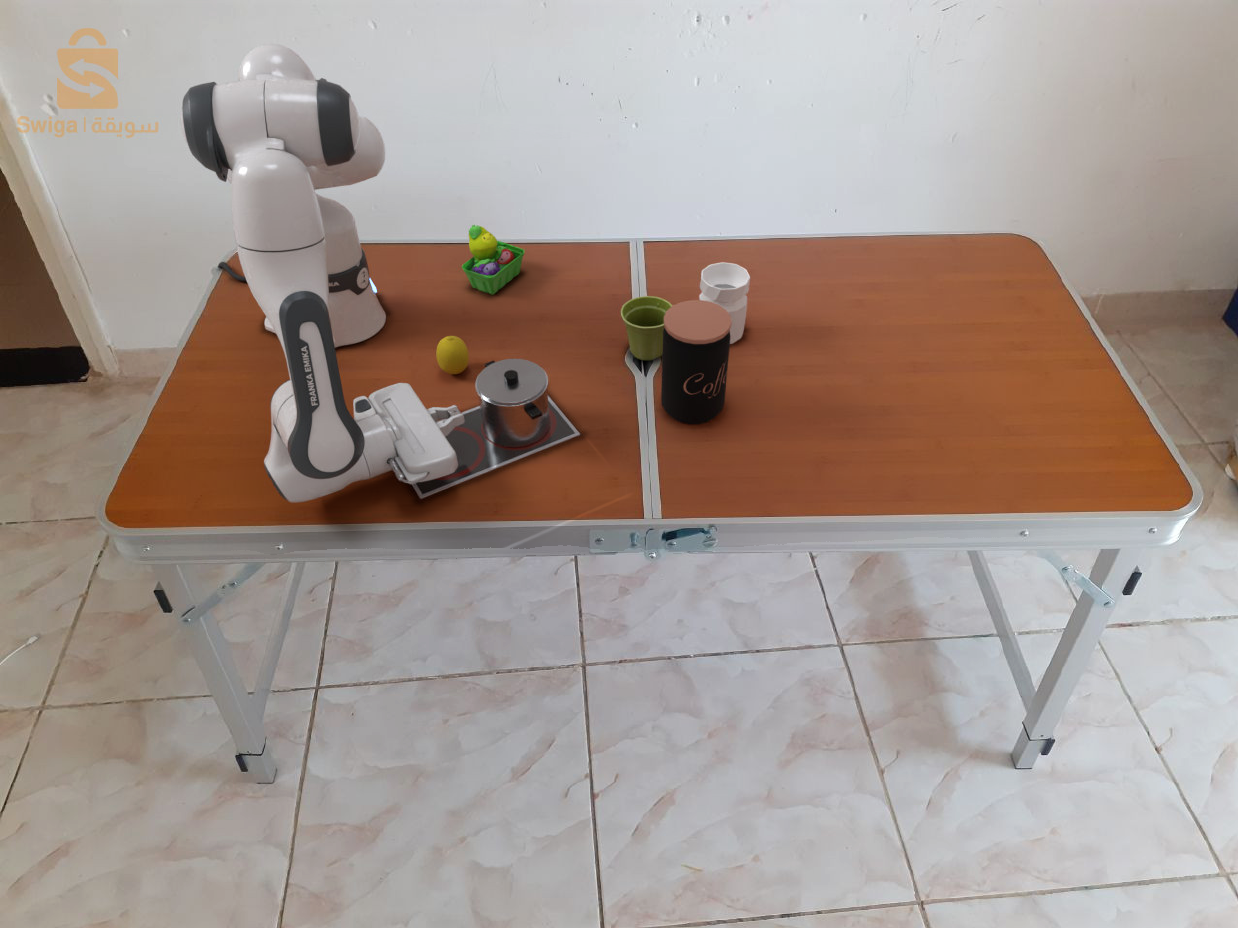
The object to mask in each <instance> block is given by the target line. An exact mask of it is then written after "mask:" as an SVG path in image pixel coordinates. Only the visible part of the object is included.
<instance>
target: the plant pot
mask: <svg viewBox="0 0 1238 928" xmlns="http://www.w3.org/2000/svg"><path fill="white" fill-rule="evenodd" d="M672 306H673V304H671V302H670V301H668V300H666V299H664V298H662V297H659V296H653V295H643V296H637V297H634V298H631V299H629V300H628V301H626V302H625V303H624V304H623V305H622V306H621V309H620V317H621V319H622V320H623V323H624V325H625V329H626V333H627V339H628V345H629V351H630V354H632V355H633V357H634V358H636V359H637V360H640V361H653V360H655V359H656V358H660V357H662V353H663V330H664V316H665V313H666V311H667V310H668V309H669V308H671V307H672Z"/></svg>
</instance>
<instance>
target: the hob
mask: <svg viewBox="0 0 1238 928" xmlns="http://www.w3.org/2000/svg"><path fill="white" fill-rule="evenodd" d="M548 406H549V418H550V426H549V429H548V431H547V433H546V434H545V436H544V437H543V438H541V439H540V440H539V441H537V442H535V443H533V444H531V445H528V446H524V447H504V446H500V445H498V444H495V443H494V442H492V441H491V440H489V439H488V438H487V436H486V435H485V433H484V430H483V423H482V416H481V410H480V405H478V406H475V407H472V408H470V409H467V410H465V411H462V412H461V413H462V414H463V416H464V420H465V422H464V423H463V424H461V425H458V426H456V427H455V428H454V429H453V430H452V431H451V432H450V433H449V434H448V436H445V437H446V439H447V440H448V442H449V443H450V445H451V446H452V448H453V449H454V451H455V453H456V456H457V462H458V468H457V469H456V470H455V472H453V473H452V474H449V475H446V476H443V477H440V478H436V479H433V480H429V481H424V482H417V483H415V484H411V486H412V487H413V490H415V492H416V495H417V496H418V497H419V499H420V500H422V499H425V498H426V497H429V496H432V495H434V494H437V493H439V492H441V491H444V490H446V489H449V488H451V487H454V486H456V485H459V484H462V483H464V482H467V481H469V480H471V479H474V478H477V477H479V476H481V475H483V474H487V473H489V472H491V471H494V470H496V469H499V468H502V467H504V466H507V465H509V464H511V463H514V462H516V461H518V460H521V459H523V458H526V457H529V456H531V455H533V454H536V453H539V452H541V451H544V450H546V449H549V448H551V447H553V446H556V445H558V444H559V445H560V444H561V443H564V442H566V441H569V440H571V439H573V438H576V437H579V436H581V432H579V431H578V429H576V427H575V425H573V423H572V422H571V421H570V419H568V418H567V417H566V415H565V414H564V413H563V412H562V410H561V409H560V408H559V407H558V405H557V404H556V403H555V402H554V401H553V399H552V398H551V397H550V396H549V395H548ZM446 420H448V419H440V420H438V422H440V421H443V423H444V422H445V421H446Z"/></svg>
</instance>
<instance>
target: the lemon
mask: <svg viewBox="0 0 1238 928" xmlns="http://www.w3.org/2000/svg"><path fill="white" fill-rule="evenodd" d="M435 353H436V354H435V356H436V357H435V358H436V361H437V364H438V366H439V367H440V369H441V370H442V371H443V372H444V373H446V374H448V375H458V374H461V373H462V372H464V371H465V370H466V368H467V367H468V365H469V362H470V361H469V360H470V355H469V349H468V347H467V345H466V343H465V341H464V340H462V338H461V337H458V336H456V335H448V336H445V337H443V338H442V339H440V341H439V342H438V344H437V346H436V352H435Z"/></svg>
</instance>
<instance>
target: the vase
mask: <svg viewBox="0 0 1238 928" xmlns="http://www.w3.org/2000/svg"><path fill="white" fill-rule="evenodd" d="M700 276H701V277H700V282H699V289H700V291H701V292H700V294H699V296H698V297H699V298H698V300H703V301H709V302H712V303H715V304H718V305H720V306H721V307H723V308H724V309H725V310H727V312H728V313H729V315H730V316H731V322H732V323H731V327H730V345H732V344H734V343H736V342H737V341H739V340H740V339H742V337H743V334H744V330H745V324H746V319H747V318H746V317H747V309H748V296H747V294H748V293H749V290H750V284H751V283H750V281H751V276H750V274H749V272H748V270H747V268H744V267H743V266H741V265H739V264H737V263H732V262H725V261H724V262H717V263H712V264H709V265H707V266H706V267H705V268H703V269H702V270H701V275H700Z"/></svg>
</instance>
